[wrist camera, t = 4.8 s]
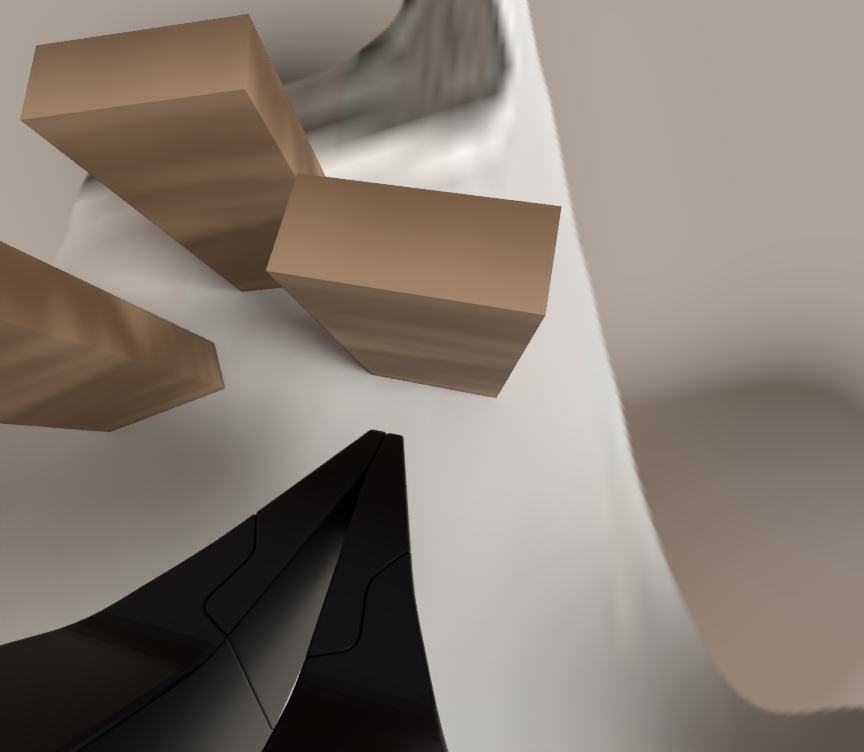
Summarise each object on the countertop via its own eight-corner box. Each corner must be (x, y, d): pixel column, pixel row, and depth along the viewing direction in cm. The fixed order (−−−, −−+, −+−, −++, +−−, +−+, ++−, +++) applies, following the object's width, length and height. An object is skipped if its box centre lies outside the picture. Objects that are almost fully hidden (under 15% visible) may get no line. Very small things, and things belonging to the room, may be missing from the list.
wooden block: (496, 397, 17) (545, 315, 7) (372, 374, 18) (265, 270, 8) (505, 342, 18) (562, 198, 8) (384, 322, 18) (299, 165, 9)
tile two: (225, 388, 18) (-46, 305, 8) (109, 431, 18) (-298, 399, 8) (213, 339, 19) (-52, 210, 9) (101, 381, 19) (-286, 296, 9)
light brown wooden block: (355, 279, 19) (244, 89, 9) (242, 291, 19) (19, 119, 10) (353, 233, 20) (248, 8, 10) (244, 245, 20) (37, 39, 10)
